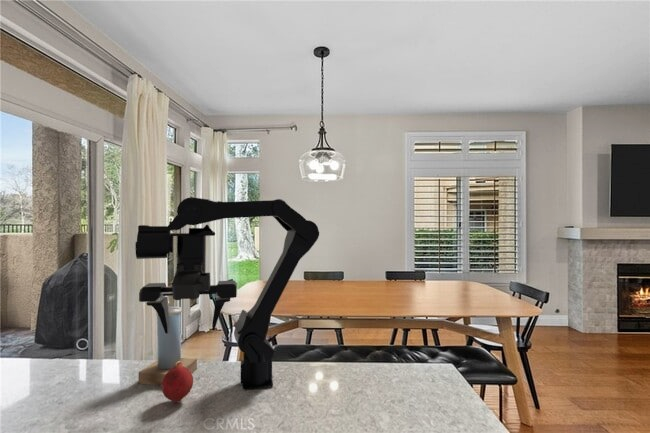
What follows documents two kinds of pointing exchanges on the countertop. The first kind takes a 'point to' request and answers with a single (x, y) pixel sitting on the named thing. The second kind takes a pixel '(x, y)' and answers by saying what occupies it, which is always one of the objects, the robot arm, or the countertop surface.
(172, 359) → the tumbler
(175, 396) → the onion
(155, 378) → the block
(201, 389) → the countertop surface
